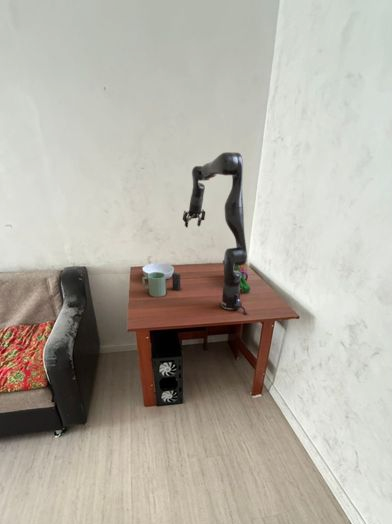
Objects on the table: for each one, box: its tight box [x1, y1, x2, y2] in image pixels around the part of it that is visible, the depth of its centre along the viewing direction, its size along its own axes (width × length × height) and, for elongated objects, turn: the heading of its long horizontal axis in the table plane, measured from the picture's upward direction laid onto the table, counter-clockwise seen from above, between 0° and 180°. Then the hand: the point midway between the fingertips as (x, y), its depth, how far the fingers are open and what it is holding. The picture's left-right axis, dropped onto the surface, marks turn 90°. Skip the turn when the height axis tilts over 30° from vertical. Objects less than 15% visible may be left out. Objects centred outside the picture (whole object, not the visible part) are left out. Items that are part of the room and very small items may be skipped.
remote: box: [171, 272, 181, 291], centre depth 182 cm, size 3×4×10 cm, turn 57°
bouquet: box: [222, 259, 251, 293], centre depth 189 cm, size 20×16×30 cm
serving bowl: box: [142, 262, 175, 280], centre depth 196 cm, size 21×21×7 cm
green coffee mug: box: [142, 272, 167, 298], centre depth 176 cm, size 14×10×12 cm
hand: (192, 226), depth 190 cm, fingers open, 8 cm apart
